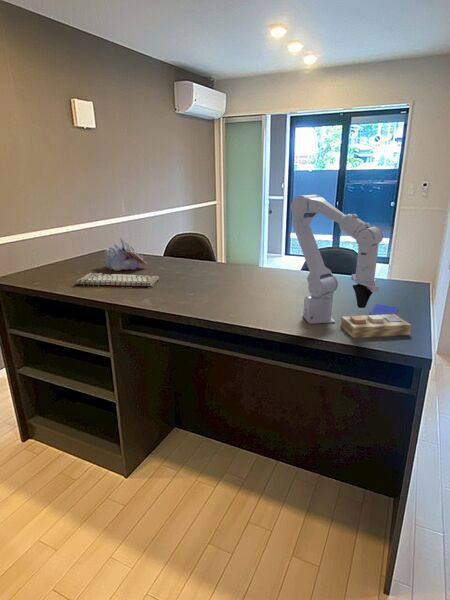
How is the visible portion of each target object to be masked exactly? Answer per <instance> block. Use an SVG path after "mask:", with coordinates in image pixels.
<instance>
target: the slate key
mask: <svg viewBox="0 0 450 600" xmlns="http://www.w3.org/2000/svg"><path fill="white" fill-rule="evenodd" d="M384 319H385V320H387V321H388V322H401V321H400V320H398V319H397V318H395V317H389V318H384Z"/></svg>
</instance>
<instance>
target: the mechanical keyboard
mask: <svg viewBox="0 0 450 600" xmlns="http://www.w3.org/2000/svg"><path fill="white" fill-rule="evenodd" d="M157 280H160V279H159V276H158V275H152V276H151V275H143V274H142V275H140V274H138V275H137V274H124V273H123V274H121V273H120V274H119V273H118V274H116V273H112V274H108V273H107V274H106V273H104V274H103V272H99V273H97V272H89V273H87V274H86V275H84V276H82V277H81V278H78V279H77V280H75V281H74V282H75V283H74V284H75V285H74V287H75V288H77V289H78V288H81V289H82V288H86V289H87V288H89V289H90V288H91V289H122V288H121V287H125V288H124V289H127V288H126V287H132V288H131V289H144V288H147V289H148V287H152V285H153V284H154V283H156V281H157ZM157 282H158V281H157ZM156 284H157V283H156ZM152 288H153V287H152Z"/></svg>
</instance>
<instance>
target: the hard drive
mask: <svg viewBox="0 0 450 600" xmlns="http://www.w3.org/2000/svg"><path fill="white" fill-rule="evenodd" d="M398 311H399V308H398V307H396V306H391V305H383V304H375V305H374V307H373V308H372V309H371V310H370V311H369V312H370V313H369V314H368V315H385V314H395V315H397V314H398Z"/></svg>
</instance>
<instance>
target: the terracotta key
mask: <svg viewBox="0 0 450 600" xmlns="http://www.w3.org/2000/svg"><path fill="white" fill-rule="evenodd" d="M350 316H351V317H350V321H351V322H352V323H354V324H366V319H365V318H363V317H362V316H363V315H350Z"/></svg>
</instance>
